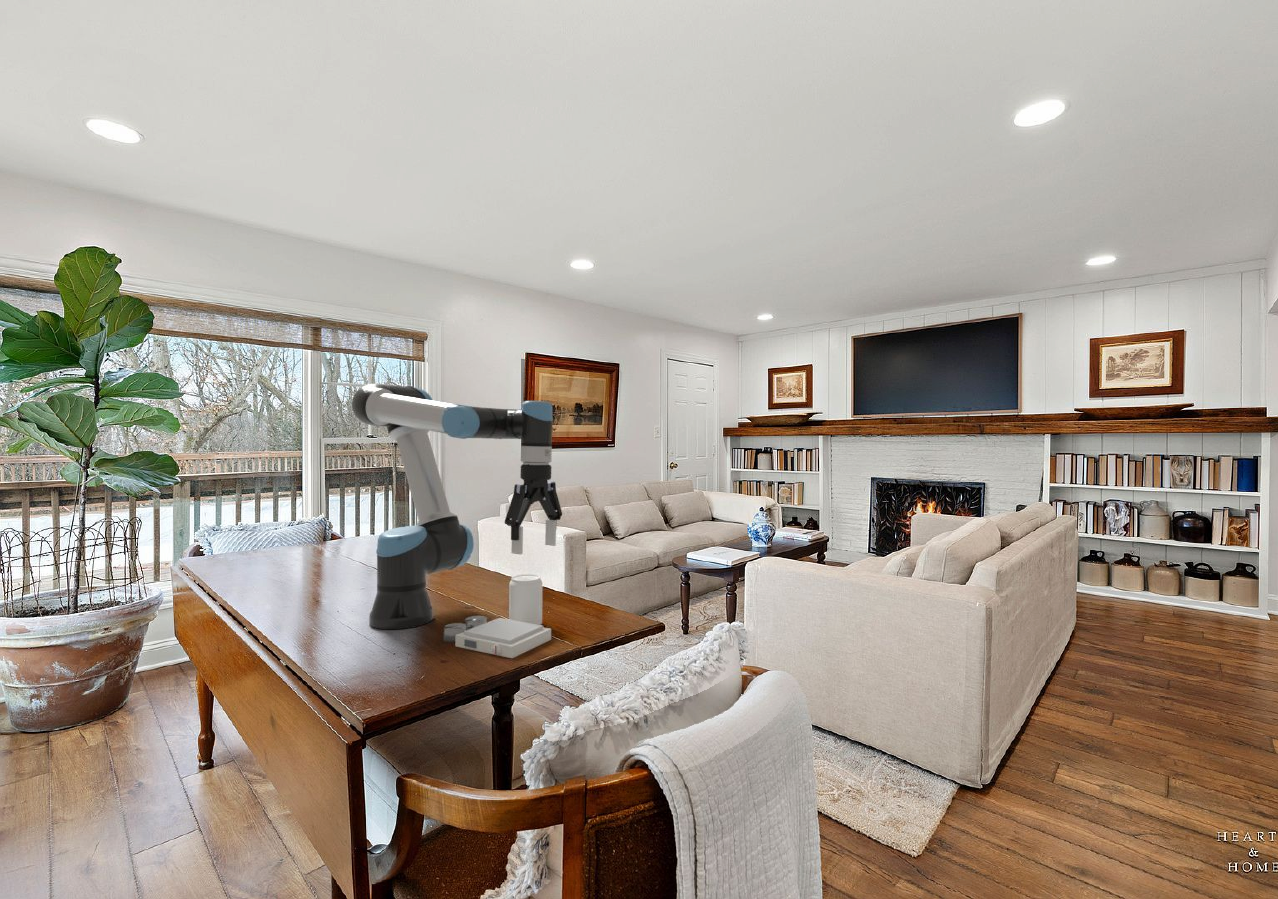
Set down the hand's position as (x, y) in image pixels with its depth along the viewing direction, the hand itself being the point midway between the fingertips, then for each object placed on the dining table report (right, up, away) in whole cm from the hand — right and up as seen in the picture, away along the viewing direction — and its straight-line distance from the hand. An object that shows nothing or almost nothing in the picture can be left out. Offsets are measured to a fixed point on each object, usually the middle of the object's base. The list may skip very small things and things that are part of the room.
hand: (534, 549), depth 151 cm
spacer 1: (-17, -19, -9) cm, 27 cm away
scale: (-5, -19, -12) cm, 23 cm away
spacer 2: (-14, -19, -3) cm, 24 cm away
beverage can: (-2, -19, +1) cm, 19 cm away
